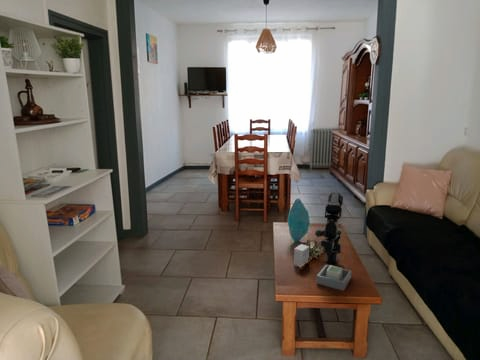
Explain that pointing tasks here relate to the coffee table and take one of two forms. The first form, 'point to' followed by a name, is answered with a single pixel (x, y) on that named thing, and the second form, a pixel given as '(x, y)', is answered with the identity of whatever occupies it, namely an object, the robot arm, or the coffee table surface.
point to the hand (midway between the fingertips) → (330, 252)
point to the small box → (301, 254)
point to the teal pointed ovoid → (298, 220)
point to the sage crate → (334, 272)
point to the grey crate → (332, 282)
